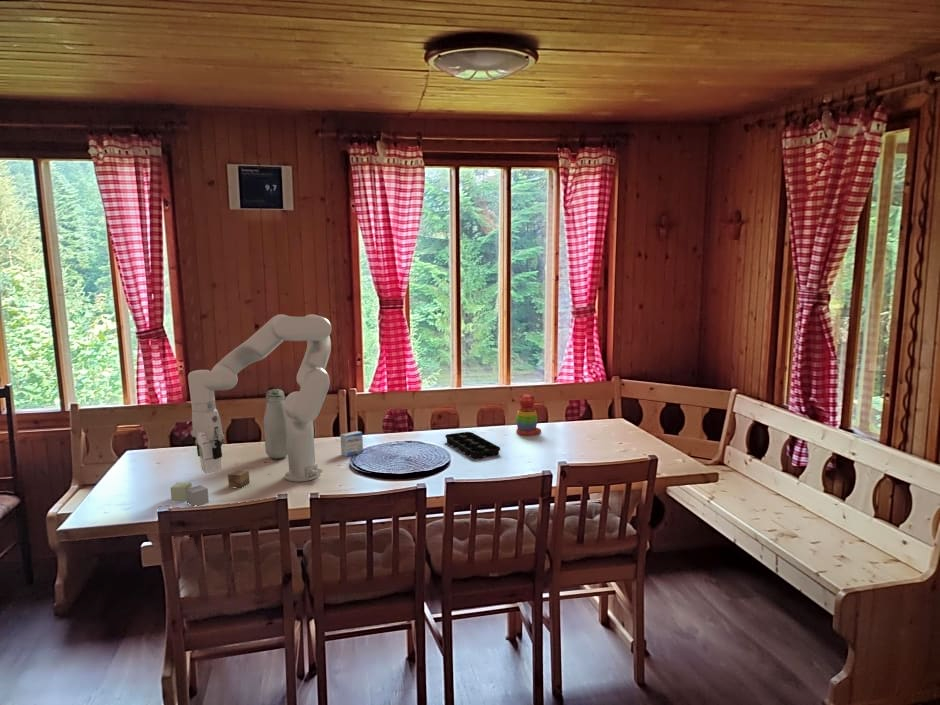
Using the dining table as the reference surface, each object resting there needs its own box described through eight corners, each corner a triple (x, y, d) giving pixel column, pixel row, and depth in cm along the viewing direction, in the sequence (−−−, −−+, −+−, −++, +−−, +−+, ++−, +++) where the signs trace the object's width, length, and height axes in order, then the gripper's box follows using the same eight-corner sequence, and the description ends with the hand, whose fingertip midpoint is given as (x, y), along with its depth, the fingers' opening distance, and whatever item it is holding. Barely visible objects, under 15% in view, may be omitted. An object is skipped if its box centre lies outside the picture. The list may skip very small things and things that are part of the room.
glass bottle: (267, 463, 262) (263, 393, 258) (264, 455, 271) (259, 388, 267) (293, 459, 266) (289, 390, 262) (289, 452, 275) (285, 385, 271)
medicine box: (346, 457, 268) (345, 436, 267) (340, 454, 271) (339, 433, 270) (363, 452, 273) (362, 432, 272) (357, 450, 276) (356, 430, 275)
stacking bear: (542, 431, 300) (542, 392, 297) (535, 437, 291) (535, 397, 288) (519, 429, 305) (519, 391, 302) (511, 435, 295) (511, 395, 293)
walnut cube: (249, 484, 239) (248, 470, 238) (241, 489, 234) (240, 475, 233) (237, 483, 240) (236, 469, 239) (228, 487, 235) (227, 474, 235)
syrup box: (222, 470, 229) (217, 429, 226) (205, 474, 225) (199, 432, 223) (218, 465, 233) (213, 425, 231) (200, 470, 230) (195, 429, 227)
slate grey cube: (208, 502, 222) (207, 488, 221) (194, 507, 218) (193, 492, 217) (201, 499, 225) (200, 485, 224) (186, 503, 221) (185, 489, 220)
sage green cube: (192, 496, 228) (191, 482, 227) (186, 501, 223) (185, 487, 222) (178, 496, 228) (177, 482, 227) (171, 501, 223) (170, 487, 222)
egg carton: (466, 438, 294) (466, 429, 293) (511, 453, 270) (511, 444, 270) (433, 445, 283) (433, 437, 282) (478, 462, 259) (478, 453, 259)
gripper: (230, 406, 224) (236, 456, 227) (196, 401, 233) (202, 450, 236) (211, 411, 218) (217, 463, 221) (177, 407, 227) (184, 456, 230)
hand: (210, 456), depth 228 cm, fingers closed on syrup box, 7 cm apart
